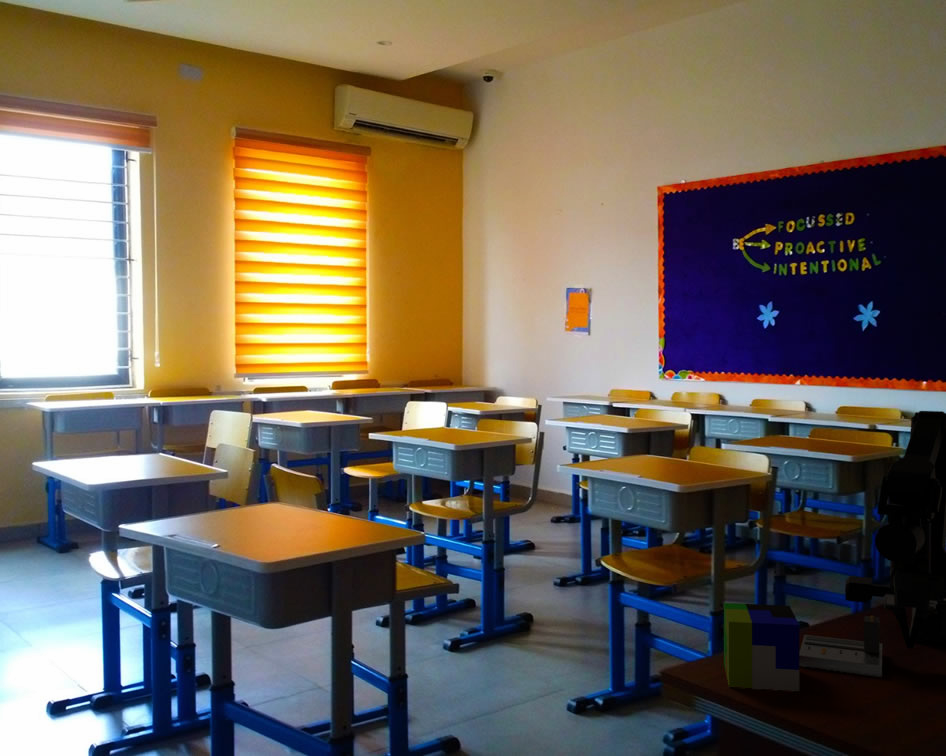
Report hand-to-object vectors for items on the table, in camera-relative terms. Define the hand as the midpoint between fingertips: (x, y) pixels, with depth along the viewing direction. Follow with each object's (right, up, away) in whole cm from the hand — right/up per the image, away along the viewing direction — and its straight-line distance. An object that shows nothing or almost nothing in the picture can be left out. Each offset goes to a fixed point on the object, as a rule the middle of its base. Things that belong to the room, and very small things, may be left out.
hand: (909, 647), depth 142 cm
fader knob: (-5, -1, +2) cm, 6 cm away
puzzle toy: (-25, -4, -3) cm, 25 cm away
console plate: (-9, -3, +3) cm, 10 cm away
